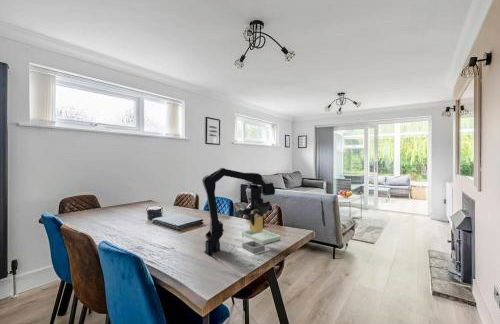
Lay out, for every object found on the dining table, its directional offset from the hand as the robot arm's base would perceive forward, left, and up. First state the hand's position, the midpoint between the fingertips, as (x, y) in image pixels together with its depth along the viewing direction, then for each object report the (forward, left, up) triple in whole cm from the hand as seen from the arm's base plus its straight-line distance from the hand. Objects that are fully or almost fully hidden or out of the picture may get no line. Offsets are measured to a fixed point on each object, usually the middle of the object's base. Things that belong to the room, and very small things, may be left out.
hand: (256, 224), depth 136 cm
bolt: (+22, +28, -12) cm, 38 cm away
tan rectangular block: (0, 0, -3) cm, 3 cm away
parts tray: (+10, +9, -12) cm, 18 cm away
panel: (-5, -4, -12) cm, 14 cm away
